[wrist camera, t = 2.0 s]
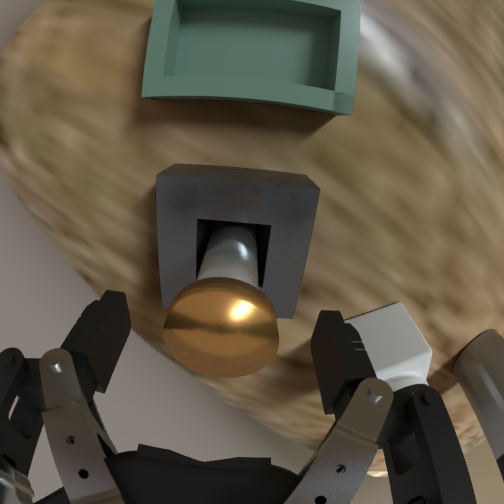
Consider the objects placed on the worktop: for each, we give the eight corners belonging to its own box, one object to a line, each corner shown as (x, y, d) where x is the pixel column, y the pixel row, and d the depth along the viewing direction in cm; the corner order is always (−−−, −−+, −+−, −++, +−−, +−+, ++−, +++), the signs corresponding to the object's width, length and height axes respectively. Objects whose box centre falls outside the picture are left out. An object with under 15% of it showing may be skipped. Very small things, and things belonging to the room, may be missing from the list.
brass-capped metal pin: (269, 203, 19) (288, 301, 9) (261, 259, 21) (270, 380, 11) (205, 197, 19) (157, 289, 9) (203, 253, 21) (168, 371, 11)
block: (306, 175, 18) (320, 189, 15) (286, 286, 22) (293, 318, 19) (174, 163, 18) (156, 175, 14) (175, 276, 22) (162, 307, 18)
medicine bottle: (330, 322, 24) (366, 438, 13) (400, 299, 23) (460, 398, 12) (339, 367, 27) (364, 464, 16) (398, 347, 26) (439, 435, 16)
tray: (345, 15, 13) (360, 1, 10) (336, 115, 16) (352, 115, 14) (171, 0, 12) (159, -16, 9) (157, 99, 16) (141, 97, 13)
